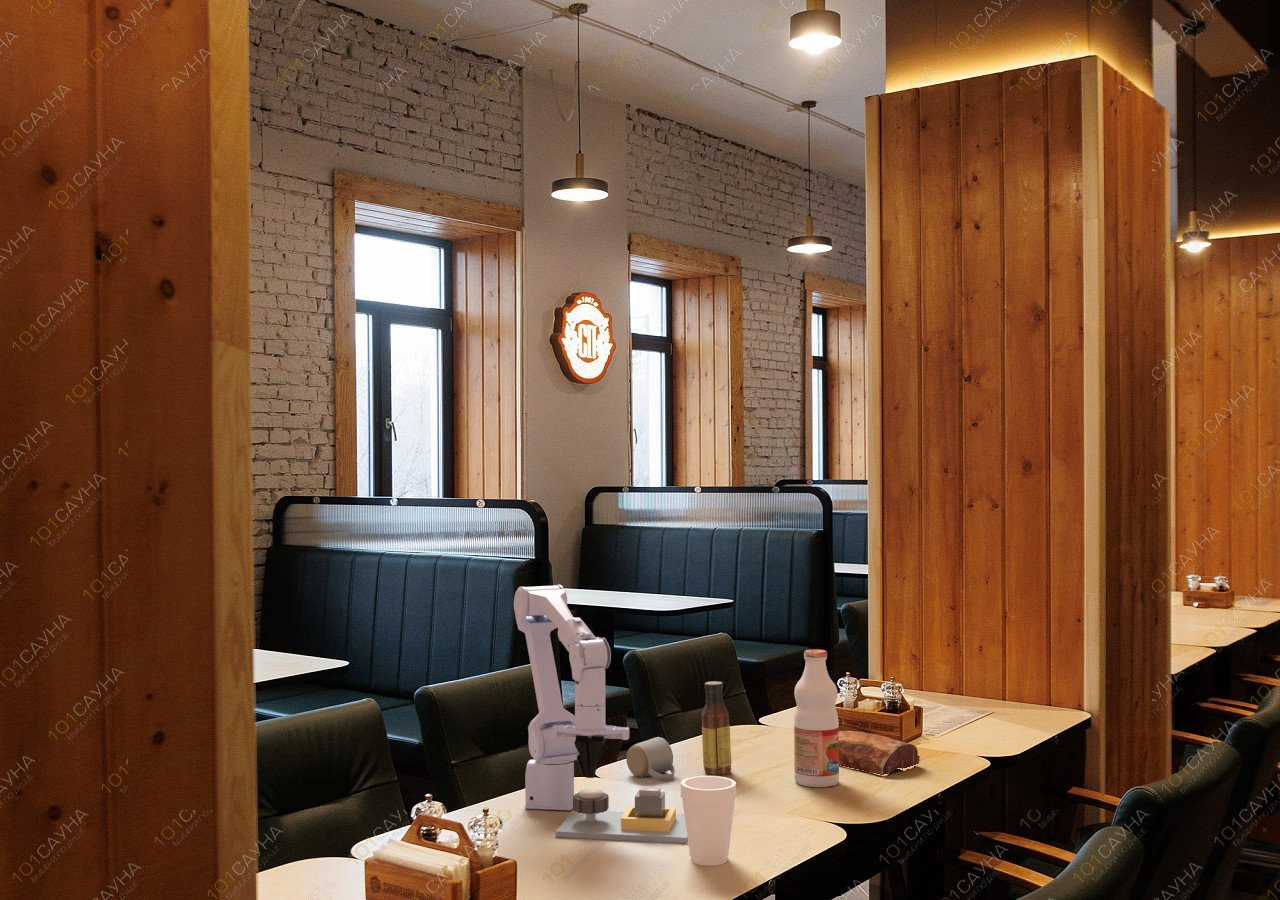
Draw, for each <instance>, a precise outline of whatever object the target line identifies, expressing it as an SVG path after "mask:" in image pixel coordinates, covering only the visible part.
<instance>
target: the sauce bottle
mask: <svg viewBox="0 0 1280 900" xmlns="http://www.w3.org/2000/svg"><path fill="white" fill-rule="evenodd" d="M723 688H724V683H723V682H722V681H715V680H713V681H707V682H705V683H704V690H705V705H704V706H703V708H702V710H701V713H700V714H701V735H702V738H701V740H702V742H701V743H702V759H703V760H702V761H703V771H704V773H705V774H707V775H710V774H711V775H710V776H723V775H724V776H725V775H729V774H730V773H731V772H732V764H733V763H732V750H731V749H732V748H731V747H732V745H731V743H732V742H731V726H730V725H731V724H730V718H729V717H730V716H729V710H728V709H727V706H726V704H725V703H724V699H723Z"/></svg>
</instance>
